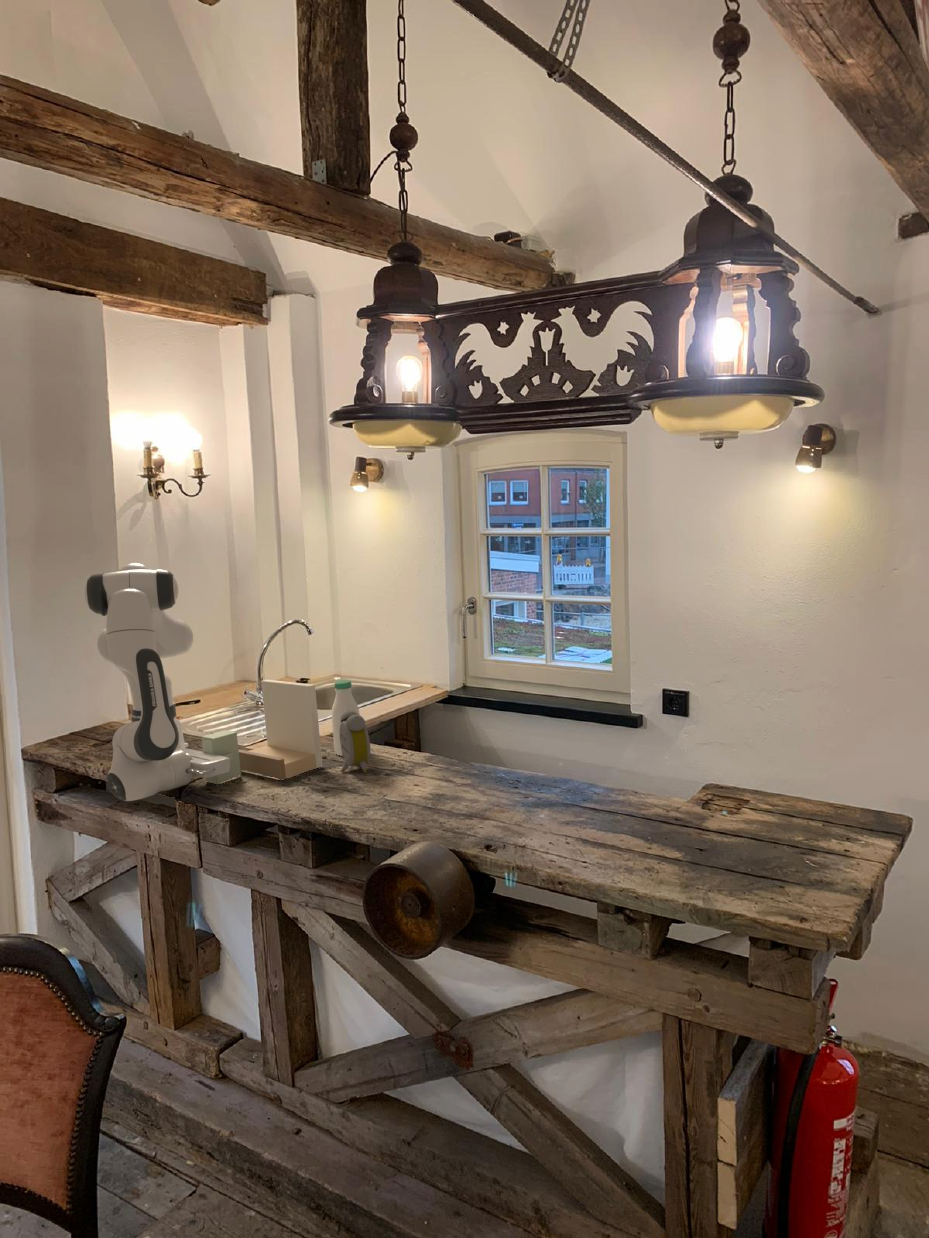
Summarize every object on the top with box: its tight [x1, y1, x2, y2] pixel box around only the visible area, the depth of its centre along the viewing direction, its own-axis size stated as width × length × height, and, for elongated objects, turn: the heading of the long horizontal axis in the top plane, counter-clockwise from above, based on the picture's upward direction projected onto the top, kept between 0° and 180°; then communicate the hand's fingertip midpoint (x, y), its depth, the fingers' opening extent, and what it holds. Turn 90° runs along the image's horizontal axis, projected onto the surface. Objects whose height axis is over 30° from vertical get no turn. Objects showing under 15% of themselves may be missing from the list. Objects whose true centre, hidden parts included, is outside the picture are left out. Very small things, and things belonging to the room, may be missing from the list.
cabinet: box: [201, 729, 242, 784], centre depth 221 cm, size 5×8×12 cm, turn 140°
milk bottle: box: [331, 680, 361, 757], centre depth 238 cm, size 8×8×20 cm
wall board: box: [238, 679, 323, 780], centre depth 227 cm, size 20×14×22 cm
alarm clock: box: [340, 710, 371, 774], centre depth 221 cm, size 12×7×15 cm, turn 22°
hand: (224, 754), depth 222 cm, fingers closed on cabinet, 5 cm apart
